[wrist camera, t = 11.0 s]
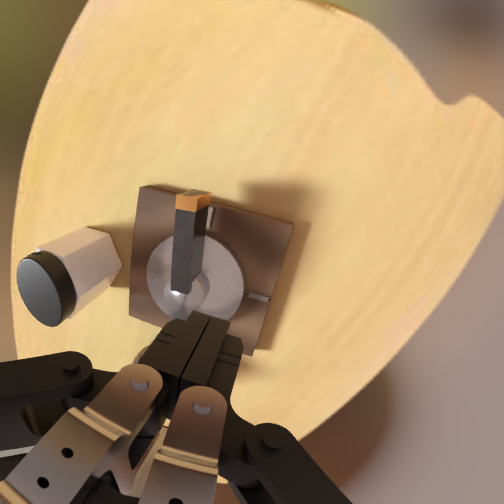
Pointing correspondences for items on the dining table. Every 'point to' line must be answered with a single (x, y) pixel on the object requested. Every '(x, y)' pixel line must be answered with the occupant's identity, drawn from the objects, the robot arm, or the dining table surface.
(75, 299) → the jar
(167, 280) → the knob
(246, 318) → the base
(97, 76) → the dining table surface
